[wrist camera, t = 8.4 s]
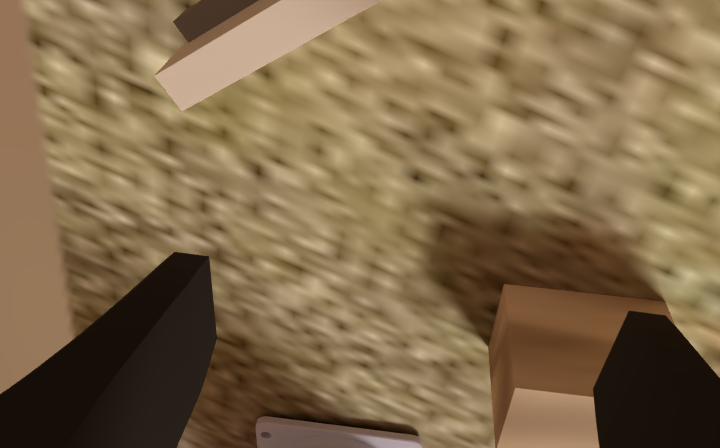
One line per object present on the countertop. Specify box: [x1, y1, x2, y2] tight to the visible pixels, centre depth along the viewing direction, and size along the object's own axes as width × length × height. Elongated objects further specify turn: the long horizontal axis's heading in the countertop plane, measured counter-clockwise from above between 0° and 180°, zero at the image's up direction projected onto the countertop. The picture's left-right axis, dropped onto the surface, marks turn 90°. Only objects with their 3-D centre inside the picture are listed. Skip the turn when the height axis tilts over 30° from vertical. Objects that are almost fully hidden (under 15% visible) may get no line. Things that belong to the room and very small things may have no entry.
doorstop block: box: [488, 284, 674, 448], centre depth 23 cm, size 4×6×5 cm, turn 87°
